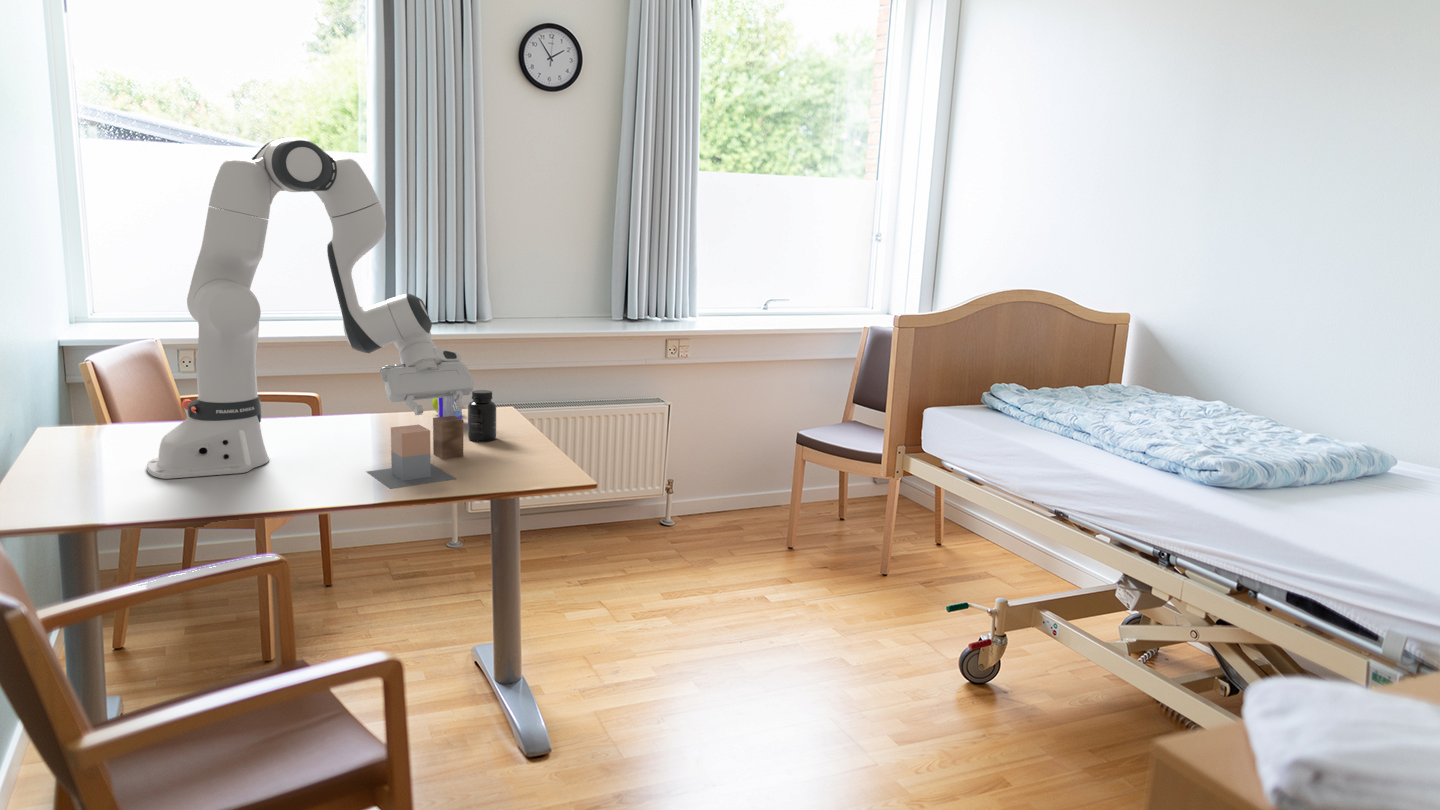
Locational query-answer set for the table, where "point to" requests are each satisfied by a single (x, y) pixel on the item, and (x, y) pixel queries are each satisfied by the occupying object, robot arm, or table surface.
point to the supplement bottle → (482, 417)
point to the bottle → (448, 407)
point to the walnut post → (448, 437)
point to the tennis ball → (435, 404)
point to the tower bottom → (411, 466)
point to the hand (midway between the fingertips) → (439, 411)
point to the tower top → (410, 440)
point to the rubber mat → (394, 482)
